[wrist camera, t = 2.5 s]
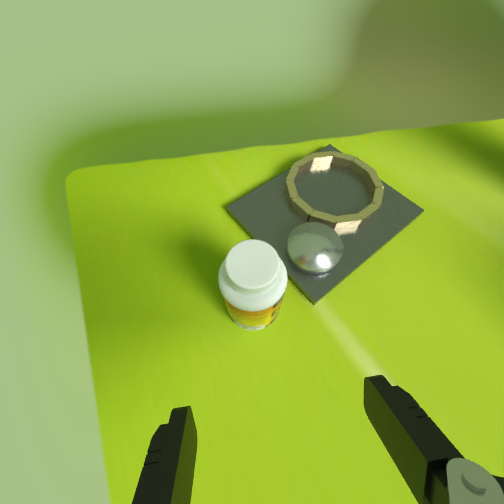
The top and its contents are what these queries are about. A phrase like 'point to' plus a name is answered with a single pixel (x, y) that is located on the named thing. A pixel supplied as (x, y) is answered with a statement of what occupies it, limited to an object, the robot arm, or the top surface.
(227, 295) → the supplement bottle
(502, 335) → the top surface
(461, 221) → the top surface
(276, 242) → the carrier plate
